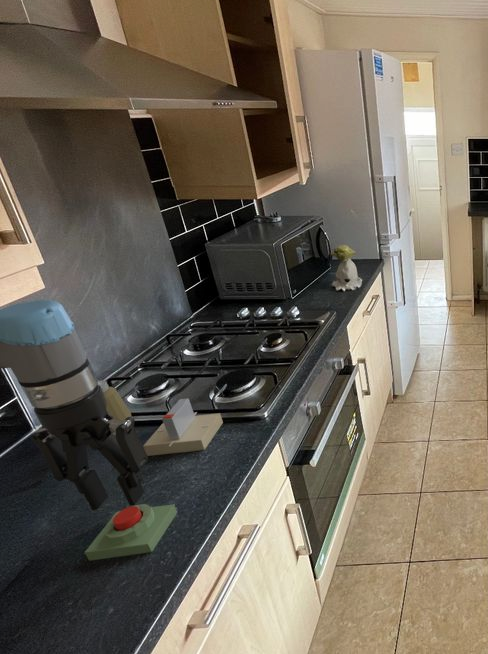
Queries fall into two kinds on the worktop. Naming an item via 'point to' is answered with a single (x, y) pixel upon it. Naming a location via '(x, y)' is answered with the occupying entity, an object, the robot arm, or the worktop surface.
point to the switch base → (185, 436)
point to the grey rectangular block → (179, 419)
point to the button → (127, 518)
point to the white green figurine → (346, 269)
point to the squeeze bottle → (114, 402)
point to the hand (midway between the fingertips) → (118, 500)
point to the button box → (132, 534)
